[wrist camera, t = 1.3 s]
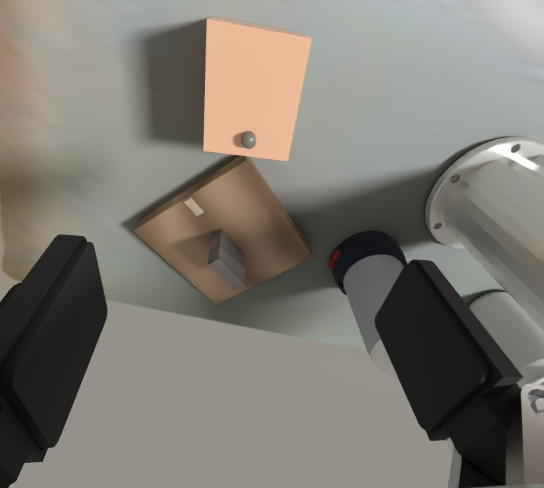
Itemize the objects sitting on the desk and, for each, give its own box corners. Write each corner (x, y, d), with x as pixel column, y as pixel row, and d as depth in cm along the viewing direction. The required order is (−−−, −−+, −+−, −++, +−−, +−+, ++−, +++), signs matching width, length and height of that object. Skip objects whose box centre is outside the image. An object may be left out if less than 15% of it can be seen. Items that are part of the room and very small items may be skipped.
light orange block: (297, 32, 23) (313, 39, 17) (279, 134, 27) (288, 164, 22) (214, 16, 22) (205, 18, 17) (210, 124, 26) (202, 154, 21)
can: (526, 298, 44) (604, 378, 34) (480, 328, 48) (540, 408, 38) (496, 280, 41) (572, 362, 32) (450, 313, 45) (506, 395, 35)
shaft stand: (245, 151, 28) (246, 185, 23) (309, 246, 35) (321, 287, 30) (138, 219, 31) (118, 262, 26) (217, 292, 38) (213, 337, 33)
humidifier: (321, 246, 35) (423, 552, 15) (392, 220, 34) (605, 521, 14) (339, 291, 40) (435, 568, 20) (402, 270, 39) (572, 547, 19)
